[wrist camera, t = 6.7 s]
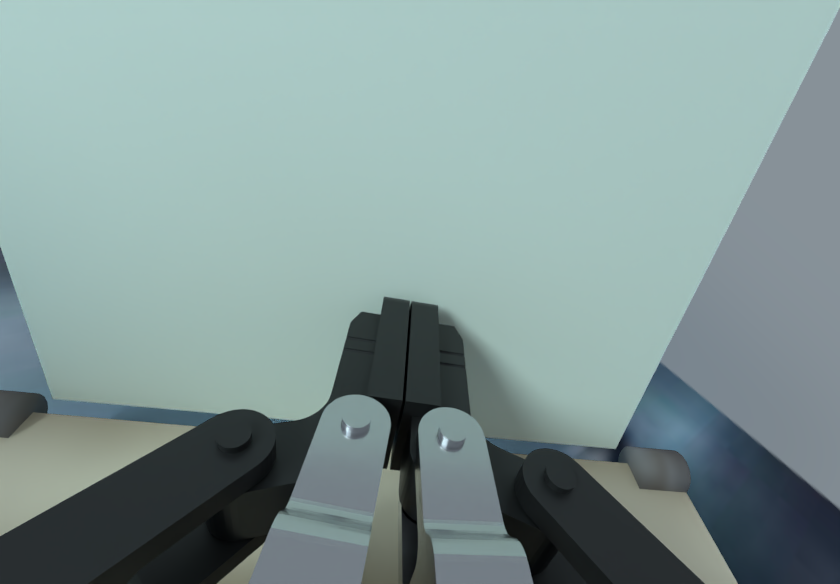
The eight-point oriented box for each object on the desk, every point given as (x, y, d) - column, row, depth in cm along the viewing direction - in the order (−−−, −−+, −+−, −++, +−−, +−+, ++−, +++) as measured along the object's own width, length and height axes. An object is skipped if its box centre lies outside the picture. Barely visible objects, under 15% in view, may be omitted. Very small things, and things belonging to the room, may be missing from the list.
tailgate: (615, 448, 14) (895, -103, 7) (52, 398, 12) (-205, -352, 6) (587, 398, 16) (784, -62, 10) (106, 350, 15) (-38, -234, 8)
